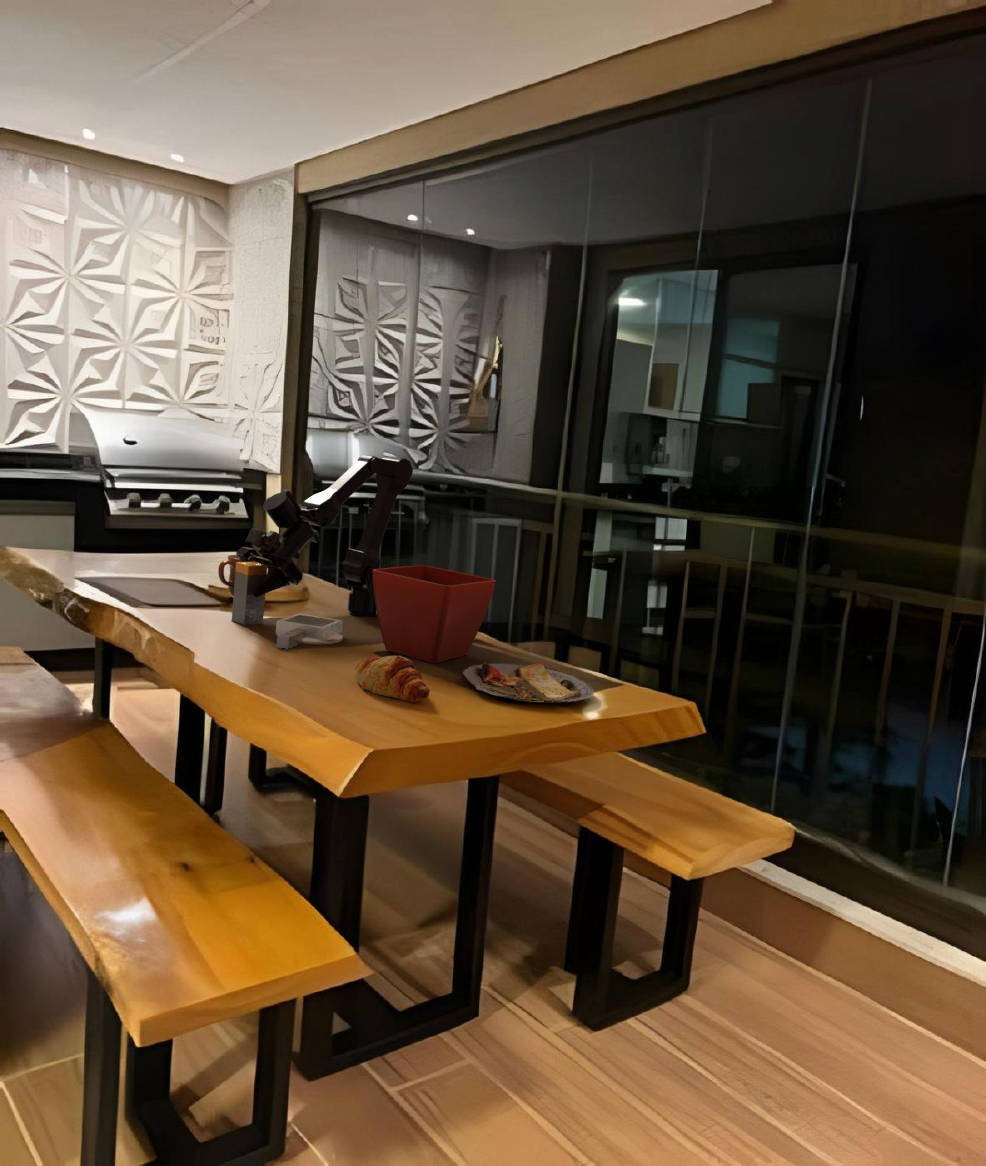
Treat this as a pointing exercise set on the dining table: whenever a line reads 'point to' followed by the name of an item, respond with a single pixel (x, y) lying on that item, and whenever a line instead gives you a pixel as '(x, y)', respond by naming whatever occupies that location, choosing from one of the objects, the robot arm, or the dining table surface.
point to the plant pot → (430, 610)
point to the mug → (232, 563)
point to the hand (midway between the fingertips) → (244, 592)
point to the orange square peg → (248, 593)
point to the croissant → (391, 678)
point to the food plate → (529, 681)
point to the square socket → (307, 630)
